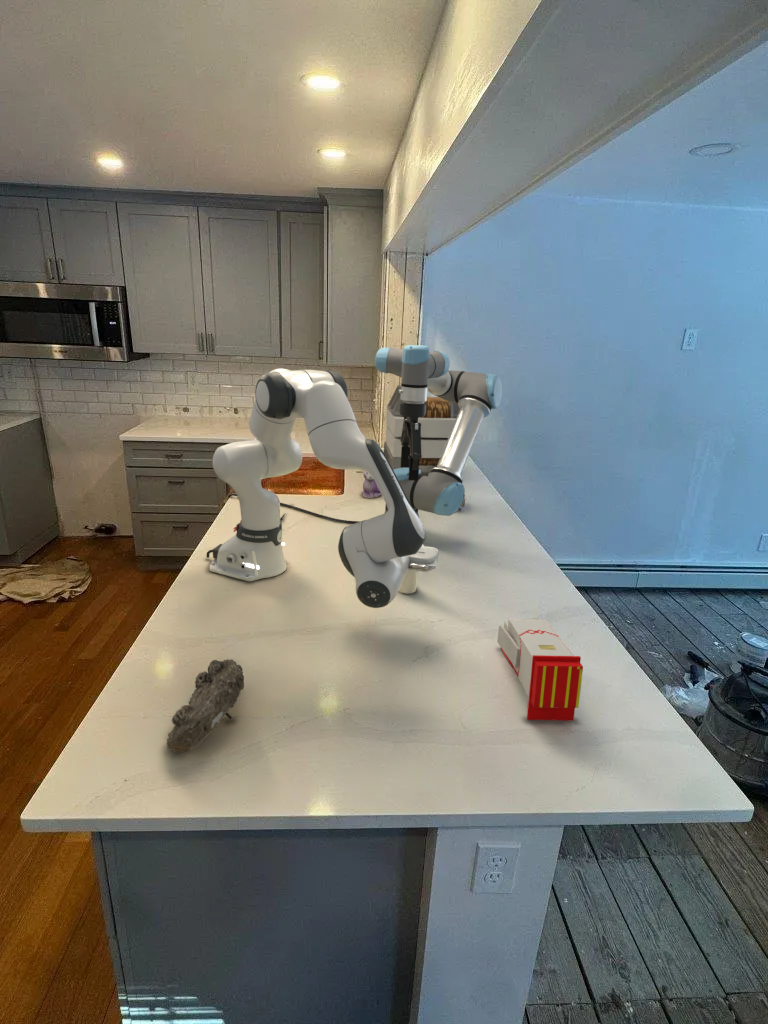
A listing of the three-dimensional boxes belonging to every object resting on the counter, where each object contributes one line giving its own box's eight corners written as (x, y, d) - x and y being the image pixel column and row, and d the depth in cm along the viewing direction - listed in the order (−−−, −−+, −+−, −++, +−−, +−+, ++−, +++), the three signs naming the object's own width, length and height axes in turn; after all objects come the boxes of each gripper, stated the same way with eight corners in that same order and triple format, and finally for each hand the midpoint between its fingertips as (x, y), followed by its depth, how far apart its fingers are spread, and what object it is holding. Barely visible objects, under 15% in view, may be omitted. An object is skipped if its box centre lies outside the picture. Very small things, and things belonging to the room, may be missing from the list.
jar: (406, 583, 164) (410, 525, 158) (419, 589, 161) (424, 531, 155) (393, 588, 161) (396, 529, 155) (407, 595, 157) (410, 535, 151)
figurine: (366, 499, 233) (368, 464, 228) (356, 492, 241) (357, 458, 236) (387, 497, 237) (388, 462, 232) (376, 490, 246) (377, 456, 241)
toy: (543, 604, 136) (592, 662, 106) (538, 656, 138) (584, 727, 109) (493, 603, 135) (528, 661, 106) (489, 655, 138) (522, 726, 109)
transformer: (382, 463, 289) (386, 382, 275) (445, 464, 293) (451, 384, 279) (390, 482, 257) (394, 392, 243) (460, 483, 261) (468, 394, 247)
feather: (292, 507, 224) (294, 503, 223) (275, 531, 197) (278, 527, 197) (288, 505, 224) (291, 501, 223) (271, 528, 197) (273, 524, 197)
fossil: (192, 660, 117) (244, 628, 112) (224, 691, 120) (276, 661, 115) (142, 746, 98) (202, 712, 93) (182, 779, 101) (242, 748, 96)
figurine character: (465, 515, 224) (460, 499, 237) (467, 498, 221) (462, 483, 234) (448, 515, 224) (444, 499, 237) (450, 498, 220) (445, 482, 234)
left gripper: (435, 557, 127) (443, 535, 140) (348, 545, 131) (363, 525, 144) (433, 582, 129) (441, 558, 142) (347, 570, 133) (362, 548, 146)
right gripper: (393, 394, 173) (390, 462, 180) (408, 409, 149) (403, 485, 157) (417, 395, 174) (413, 462, 181) (435, 409, 150) (430, 485, 158)
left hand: (401, 541), depth 143 cm, fingers open, 8 cm apart
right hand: (408, 473), depth 169 cm, fingers open, 13 cm apart
